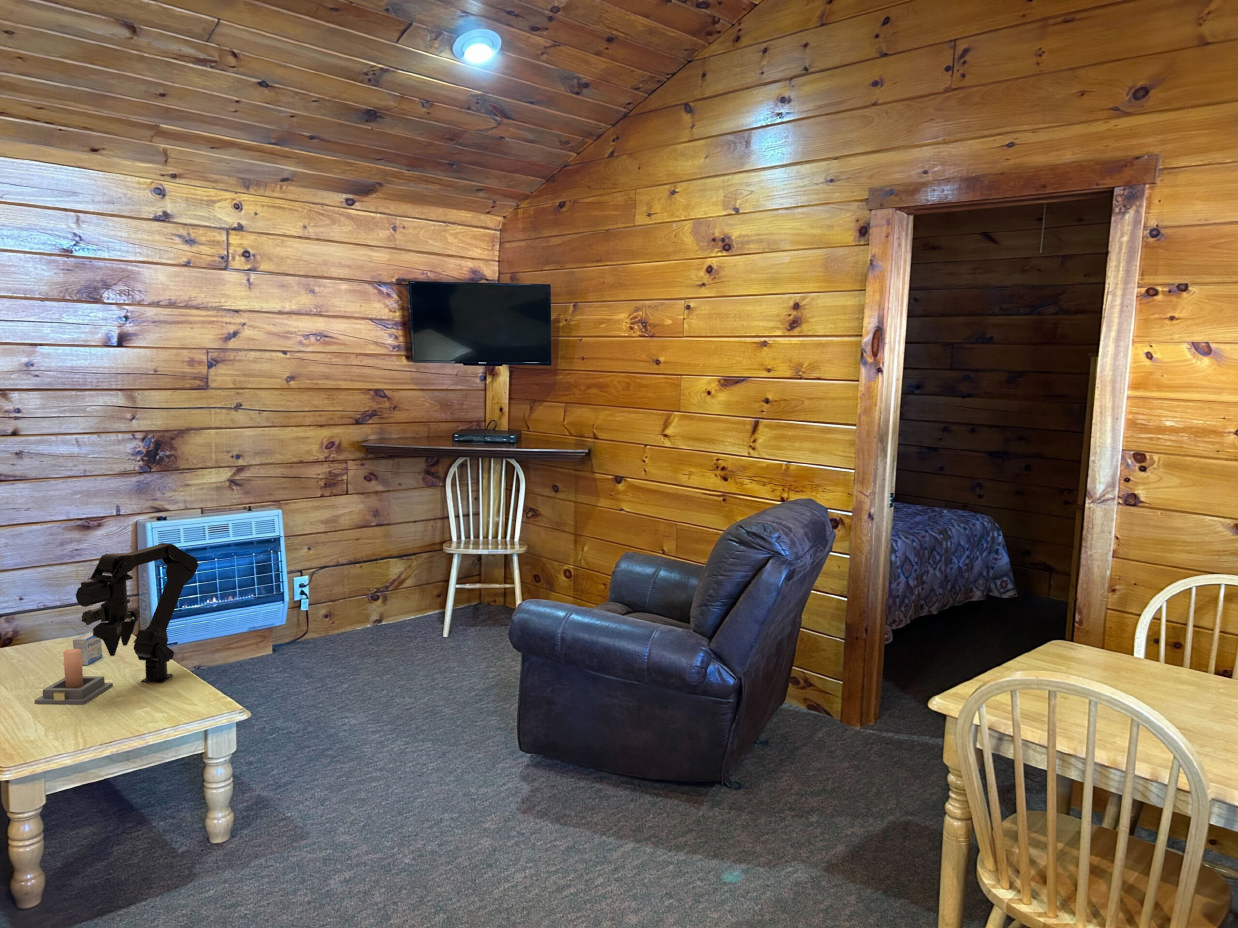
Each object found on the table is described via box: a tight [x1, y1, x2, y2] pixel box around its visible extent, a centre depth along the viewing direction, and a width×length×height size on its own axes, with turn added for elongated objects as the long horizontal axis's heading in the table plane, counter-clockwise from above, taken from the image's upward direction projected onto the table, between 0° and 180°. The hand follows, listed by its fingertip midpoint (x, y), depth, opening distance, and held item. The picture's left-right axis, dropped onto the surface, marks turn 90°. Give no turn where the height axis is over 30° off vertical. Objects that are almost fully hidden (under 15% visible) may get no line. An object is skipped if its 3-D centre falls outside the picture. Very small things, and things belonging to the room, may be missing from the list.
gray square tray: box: [33, 675, 114, 705], centre depth 256 cm, size 14×14×4 cm
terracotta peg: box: [62, 648, 84, 688], centre depth 255 cm, size 4×4×12 cm
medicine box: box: [72, 631, 103, 666], centre depth 284 cm, size 8×4×9 cm, turn 179°
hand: (118, 650), depth 255 cm, fingers open, 9 cm apart
